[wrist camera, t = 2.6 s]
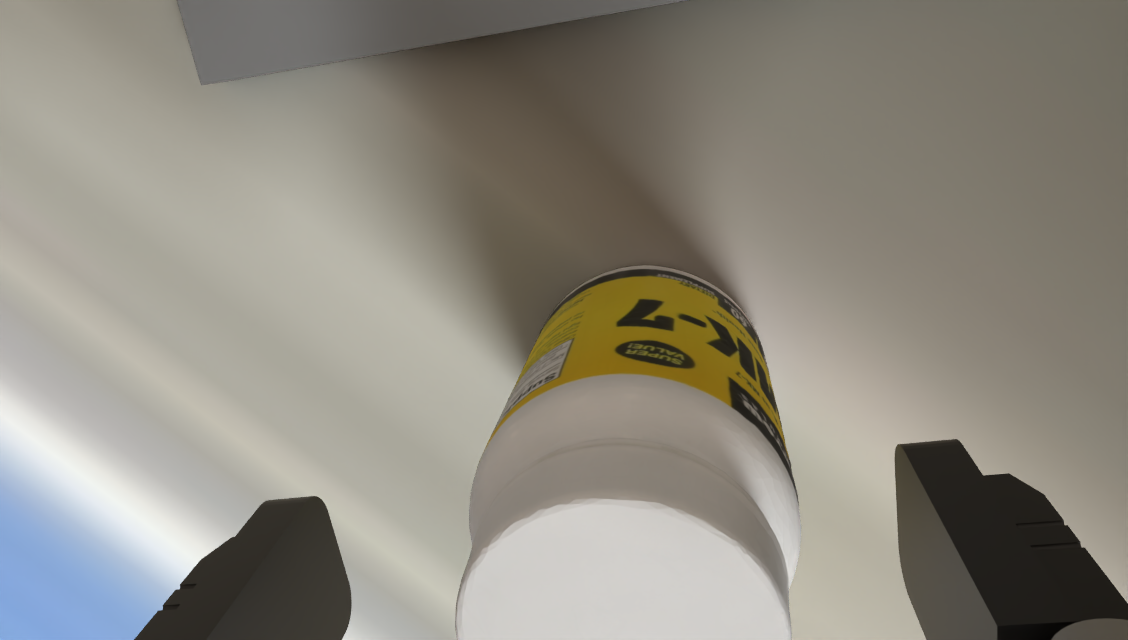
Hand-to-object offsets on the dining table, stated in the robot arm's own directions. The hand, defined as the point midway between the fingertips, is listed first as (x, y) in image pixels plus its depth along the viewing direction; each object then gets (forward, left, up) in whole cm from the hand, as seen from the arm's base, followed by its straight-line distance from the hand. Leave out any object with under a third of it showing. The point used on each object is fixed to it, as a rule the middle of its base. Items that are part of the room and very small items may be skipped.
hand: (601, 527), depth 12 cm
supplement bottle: (0, 0, -7) cm, 7 cm away
